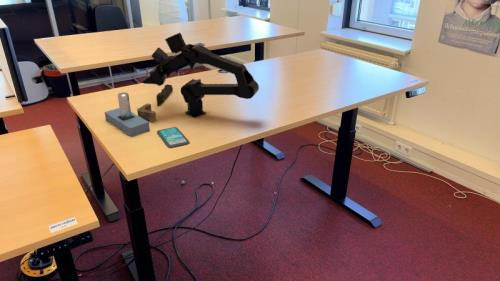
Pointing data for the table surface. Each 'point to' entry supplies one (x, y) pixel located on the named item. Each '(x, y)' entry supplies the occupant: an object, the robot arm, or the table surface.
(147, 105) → the v block
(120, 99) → the axle
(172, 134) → the smartphone
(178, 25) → the table surface
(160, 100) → the hand tool
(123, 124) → the grey block with hole
